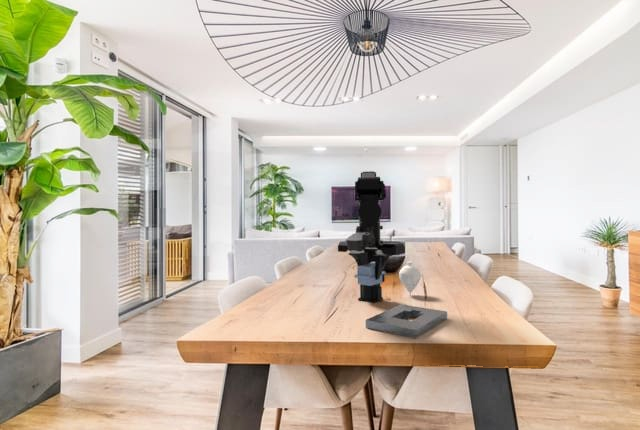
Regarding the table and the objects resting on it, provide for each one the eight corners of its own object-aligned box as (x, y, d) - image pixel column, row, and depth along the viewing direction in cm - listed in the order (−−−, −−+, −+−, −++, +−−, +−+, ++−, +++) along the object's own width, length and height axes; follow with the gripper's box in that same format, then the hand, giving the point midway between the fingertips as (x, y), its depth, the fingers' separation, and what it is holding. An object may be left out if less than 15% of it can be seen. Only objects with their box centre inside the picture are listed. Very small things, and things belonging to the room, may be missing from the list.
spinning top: (425, 295, 131) (425, 261, 131) (411, 298, 126) (411, 263, 126) (408, 291, 137) (408, 259, 137) (394, 294, 132) (394, 261, 132)
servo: (354, 285, 99) (354, 264, 99) (373, 279, 107) (373, 260, 107) (366, 286, 97) (366, 265, 97) (385, 281, 104) (385, 261, 104)
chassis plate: (416, 338, 87) (416, 330, 87) (365, 327, 95) (365, 320, 95) (447, 318, 102) (447, 311, 102) (401, 310, 111) (401, 304, 111)
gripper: (325, 223, 102) (326, 279, 102) (383, 223, 89) (384, 287, 89) (348, 222, 110) (349, 274, 110) (405, 222, 98) (406, 280, 98)
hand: (370, 278), depth 102 cm, fingers closed on servo, 4 cm apart
